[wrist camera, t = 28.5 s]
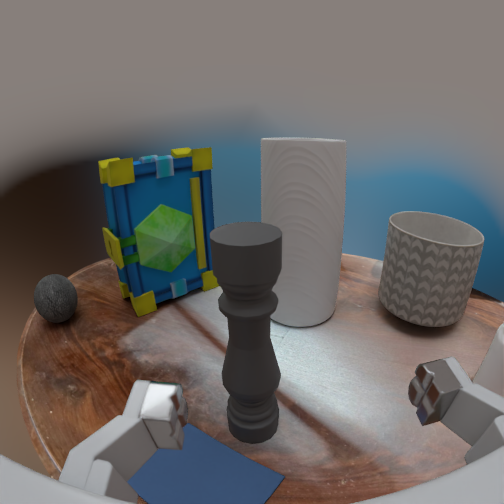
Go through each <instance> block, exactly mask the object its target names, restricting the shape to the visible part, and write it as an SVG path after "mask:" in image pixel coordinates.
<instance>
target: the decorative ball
mask: <svg viewBox="0 0 504 504" xmlns="http://www.w3.org/2000/svg"><path fill="white" fill-rule="evenodd" d="M34 303H35V306H36V309H37V311H38V312H39V314H40V315H41V316H42V317H43V318H44V319H46V320H48V321H50V322H54V323H59V322H64V321H66V320H68V319H69V318H70V317H71V316H72V315H73V314H74V312H75V310H76V307H77V292H76V290H75V287H74V286H73V284H72V283H71V282H70V281H69V280H68V279H67V278H65V277H63V276H61V275H56V274H53V275H49V276H46V277H44V278H43V279H42V280H41V281H40V282H39V283H38V284H37V286H36V289H35V292H34Z"/></svg>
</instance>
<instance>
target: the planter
mask: <svg viewBox="0 0 504 504" xmlns="http://www.w3.org/2000/svg"><path fill="white" fill-rule="evenodd" d="M483 243H484V237H483V235H482V234H481V232H480V231H478V230H477V229H475V228H474V227H472V226H470V225H469V224H466V223H464V222H462V221H459V220H457V219H453V218H450V217H447V216H443V215H438V214H432V213H426V212H410V211H409V212H399V213H396V214H393V215H391V216H390V218H389V226H388V234H387V241H386V249H385V255H384V262H383V268H382V274H381V280H380V285H379V291H378V295H379V299H380V301H381V303H382V304H383V305H384V307H385V308H386V309H387V310H389V311H390V312H391V313H392V314H394V315H396V316H397V317H399V318H401V319H403V320H405V321H408V322H411V323H414V324H417V325H422V326H429V327H442V326H447V325H451V324H453V323H455V322H457V321H458V320H459V319H460V318H461V317H462V316H463V313H464V311H465V308H466V305H467V302H468V299H469V295H470V292H471V289H472V286H473V282H474V278H475V275H476V271H477V268H478V264H479V260H480V256H481V252H482V247H483Z"/></svg>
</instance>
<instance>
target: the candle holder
mask: <svg viewBox="0 0 504 504" xmlns="http://www.w3.org/2000/svg"><path fill="white" fill-rule="evenodd" d="M210 245H211V257H212V268H213V275H214V276H215V277H216V278H217V283H218V285H219V286H221V288H222V290H223V293H222V294H221V296H220V297H219V299H218V302H219V310H220V311H221V312H222V313H223V314H224V316H225V317H227V318H228V329H229V341H228V346H227V351H226V355H225V360H224V365H223V370H222V379H223V385H224V387H225V388H226V390H227V391H228V393H229V394H230V397H229V399H228V406H227V416H228V423H229V429H230V432H231V433H232V434H233V436H234V437H235V438H237V439H239V440H240V441H242V442H246V443H252V444H253V443H260V442H264V441H266V440H268V439H269V438H271V437H272V436H273V435H274V433H275V432H276V430H277V426H278V418H279V408H278V404H277V399H276V396H275V394H274V392H275V391H276V389H277V388H278V386H279V382H280V378H281V373H280V370H279V366H278V363H277V360H276V356H275V353H274V349H273V346H272V342H271V339H270V316H271V315H272V314H273V313H274V312H275V311H276V308H277V305H278V298H277V295H276V293H274V292H273V291H272V289H273V286H274V285H275V284H276V282H277V279H278V276H279V275H280V272H281V269H282V231H281V230H280V229H279V228H278V227H276V226H274V225H271V224H266V223H261V222H237V223H231V224H226V225H222V226H220V227H217V228H215V229H214V230H212V231H211V232H210Z"/></svg>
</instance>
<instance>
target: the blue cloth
mask: <svg viewBox="0 0 504 504" xmlns="http://www.w3.org/2000/svg"><path fill="white" fill-rule="evenodd" d="M182 429H183V431H184V434H185V436H184V442H183V448H182V450H171V449H160V448H159V449H158V450H157V451H156V452H155V453H154V454H153V455H152V456H151V457H150V459H149V460H148V461H147V462H146V463H145V464H144V465H143V466H142V467H141V468H140V469H139V470H138V471H137V472H136V473H135V474H134V475H133V476H132V477H131V478H130V479H129V480H128V481H127V482H128V483H129V484H130V486H131V487H132V488H133V489H134V490H135V491H136V492H137V493H138V495H139V496H140V497H141V498H143V499H144V500H145V501H146V502H147V503H148V504H265V502H266V501H267V500H268V499H269V498H270V496H271V495H272V494H273V492H274V491H275V490H276V489H277V487H278V486H279V485H280V483H281V482H282V481H283V479H284V478H285V476H283V475H281V474H279V473H277V472H275V471H273V470H271V469H269V468H267V467H265V466H263V465H261V464H259V463H257V462H255V461H253V460H251V459H249V458H247V457H245V456H243V455H241V454H240V453H238V452H236V451H234V450H232V449H231V448H229V447H227V446H225V445H224V444H222V443H220V442H219V441H217V440H215V439H214V438H212V437H210V436H209V435H207V434H205V433H204V432H202V431H201V430H199V429H197V428H196V427H194V426H193V425H191V424H190V423H188V424H187V425H185V426H184V427H183V428H182Z"/></svg>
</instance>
